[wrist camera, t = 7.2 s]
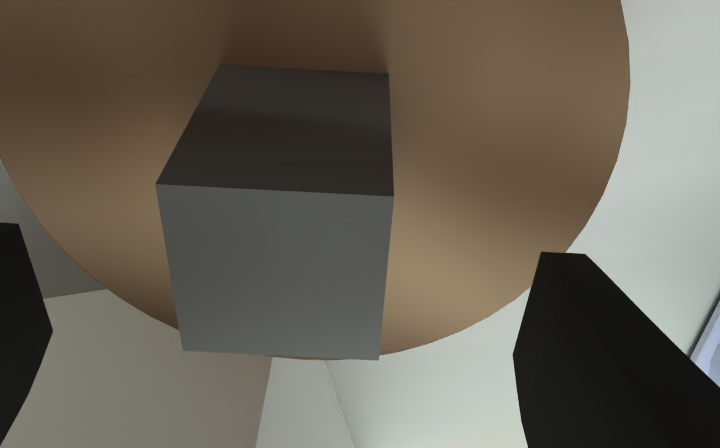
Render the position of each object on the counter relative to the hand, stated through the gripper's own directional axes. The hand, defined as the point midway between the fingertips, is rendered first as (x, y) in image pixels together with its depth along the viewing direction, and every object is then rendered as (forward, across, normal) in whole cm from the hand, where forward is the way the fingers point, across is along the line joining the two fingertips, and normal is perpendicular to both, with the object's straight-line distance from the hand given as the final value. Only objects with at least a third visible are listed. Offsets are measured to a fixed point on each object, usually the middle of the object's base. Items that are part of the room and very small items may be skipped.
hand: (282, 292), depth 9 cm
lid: (+5, 0, 0) cm, 5 cm away
